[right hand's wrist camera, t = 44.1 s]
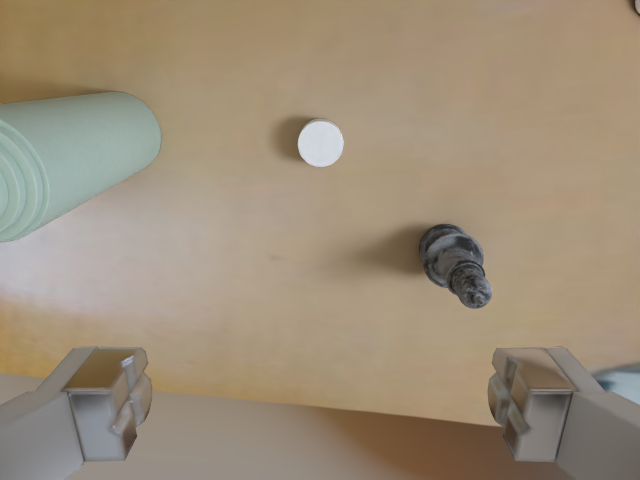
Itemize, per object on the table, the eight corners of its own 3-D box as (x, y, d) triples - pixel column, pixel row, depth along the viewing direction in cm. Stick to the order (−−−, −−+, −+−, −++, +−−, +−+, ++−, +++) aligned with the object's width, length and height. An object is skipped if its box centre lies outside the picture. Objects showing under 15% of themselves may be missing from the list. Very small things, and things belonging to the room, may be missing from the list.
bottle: (169, 168, 45) (2, 278, 21) (93, 176, 45) (-153, 292, 21) (151, 87, 42) (-63, 111, 18) (70, 95, 42) (-240, 129, 19)
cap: (306, 112, 43) (305, 114, 40) (348, 126, 43) (349, 129, 41) (293, 154, 44) (292, 159, 42) (334, 167, 44) (334, 172, 42)
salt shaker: (420, 277, 49) (450, 340, 37) (413, 227, 47) (442, 278, 35) (474, 267, 48) (521, 327, 37) (469, 216, 46) (517, 264, 35)
